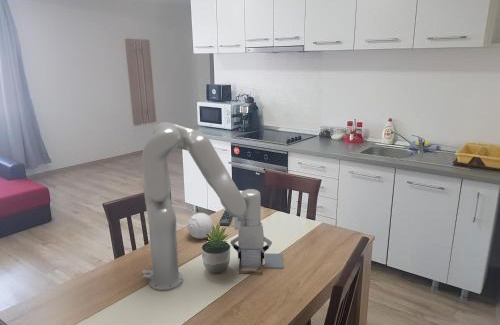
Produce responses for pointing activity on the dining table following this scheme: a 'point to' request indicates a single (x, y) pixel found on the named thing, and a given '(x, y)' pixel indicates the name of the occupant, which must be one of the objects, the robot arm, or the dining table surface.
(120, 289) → the dining table surface
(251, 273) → the wooden frame
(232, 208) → the robot arm
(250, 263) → the medicine box
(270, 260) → the rubber mat
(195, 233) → the decorative ball
